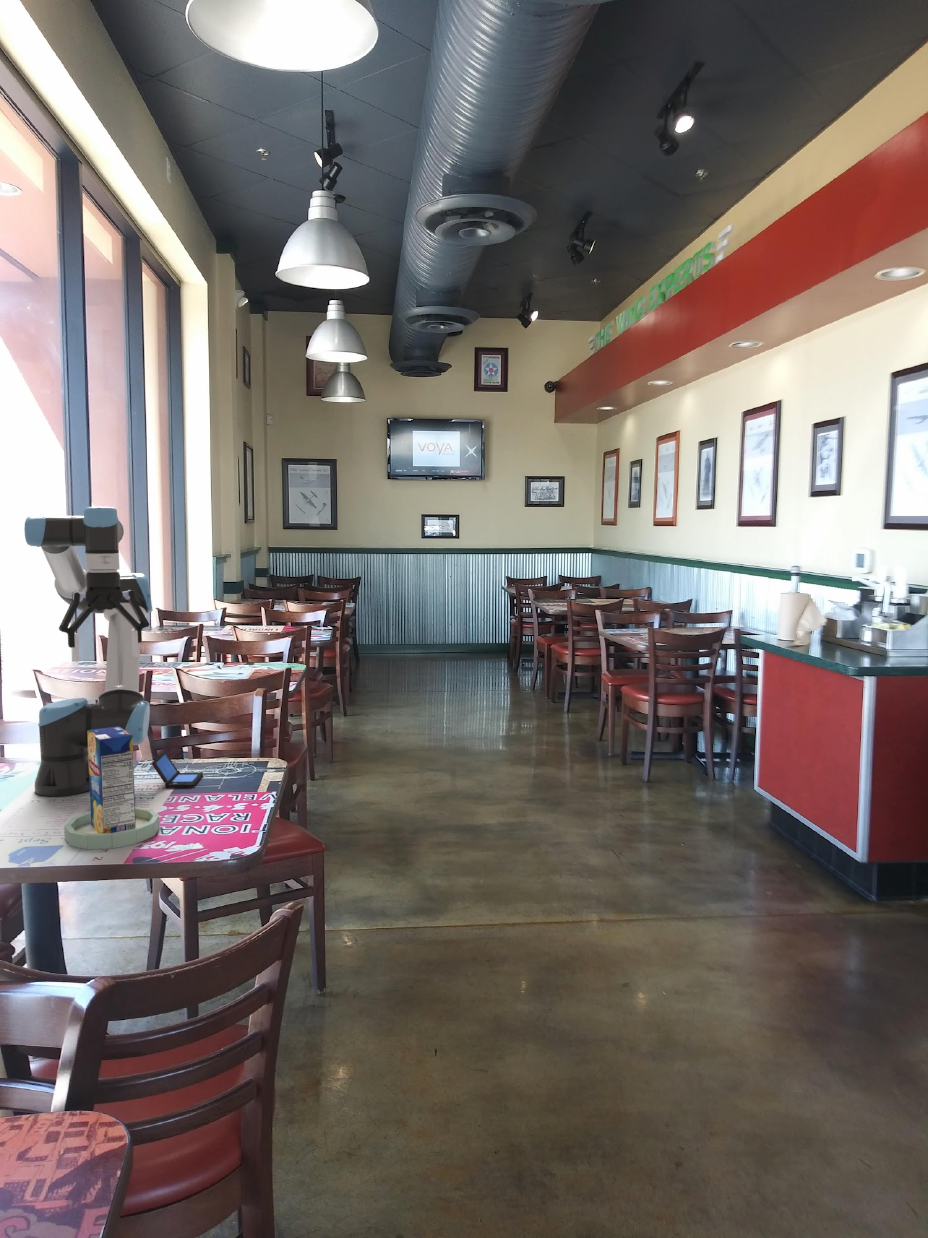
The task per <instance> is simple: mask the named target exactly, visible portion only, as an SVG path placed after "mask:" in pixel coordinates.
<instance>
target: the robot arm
mask: <svg viewBox="0 0 928 1238" xmlns="http://www.w3.org/2000/svg"><path fill="white" fill-rule="evenodd" d="M124 532H125V530H124V525H123V524H122V522H121V521H120V520H119V517H118V510H117V508H116V507H113V506H87V507H85V508H84V510H83V515H45V514H42V515H41V514H40V515H29V516H28V517H27V518H26V519H25V521H24V538H25V542H26V544H27V545H28V546H31V547H36V548H37V547H38V548H39V547H40V548H41V550H42V552H43V554H44V556H45V559H46V560H47V563H48V565H49V568H50V569H51V572H52V574H53V576H54V588H55V590H56V592H57V595H59V597H60V598H61V599H62V600H63V601H64V602H65V603H66V604H68V605H69V606H68V608H67V610H66V613H65V614H64V617H63V619H62V621H61V623H60V625H59V626H58V630H59V631H60V632H62V633H66V635H67V645H68V646H67V647H68V648H69V649H70V648H72V654H73V659H72V660H73V661H74V662H76V663H77V662H80V645H79V644H80V643H79V634H78V633H77V631H78V630H79V628H80V627H81V625H82V624H83V623H84V622H85V621H86V620H87V618H88V617H89V616H90V615H91V614H103V617H104V619H105V620H107V621H108V632H107V633H108V634H107V647H106V648H107V650H106V665H105V683H104V685H105V686H104V691H103V692H102V693H101V694H99V696H98V699H97V703H89V701H88V699H87V698H85V697H74V698H68V699H62V700H58V701H55V702H51V703H48V704H45V705H44V706H43V707H41V708H40V710H39V712H38V724H37V725H38V728H39V729H38V731H39V746H40V747H39V749H40V750H39V751H40V764H39V767H38V771H37V774H36V778H35V781H34V792H36V793H37V795H39V794H40V795H39V796H43V795H45V796H44V797H62V796H64V797H65V796H72V795H78V794H83V793H87V792H90V781H89V758H88V734H87V730H94V729H102V728H110V727H118V726H119V727H121V728H122V729H124V730H125V731H127V732H128V733H130V734H131V735H132V741H133V746H137V745H141V744H143V743H144V742H145V740H146V738H147V736H148V731H149V725H150V714H151V706H150V702H149V701H146V700H145V697H144V695H143V693H141V692H140V690H139V688H140V687H139V685H140V666H141V665H140V662H141V659H140V657H141V644H142V641H143V636H142V635H143V633H142V630H143V629H145V628H148V627H149V626H150V623H149V621H148V619H147V616H148V614H150V613H152V612H153V603H152V596H151V595H152V594H151V590H150V589H151V588H150V582H149V578H148V576H147V575H146V574H145V573H140V572H139V573H138V572H130V573H129V572H128V573H125V572H124V573H123V572H122V573H121V572H118V570H120V552H119V551H120V550H119V543H120V542H121V541H122V539H123V537H124ZM76 547H84V549H85V550H84V553H85V556H84V557H85V568H84V567H83V564H82V561H81V559H80V556H79V554H78V551H77V549H76ZM77 610H79V611H81V613H80V614H79V615H78V616H77V617H76V619H74V621H73V622H72V623H71V621H72V619H73V617H74V615H75V613H76V611H77ZM69 625H70V626H69ZM36 793H35V794H36Z"/></svg>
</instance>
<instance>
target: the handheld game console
mask: <svg viewBox="0 0 928 1238" xmlns="http://www.w3.org/2000/svg"><path fill="white" fill-rule="evenodd" d="M151 765H152V767H153V768H154V769H155V771H156V773H157V774H158V776H159V777H160V779H161V780H162V781H163V784H164V789H192V788H194V787H195V786H196V785H197V783H198V782H199V781H200V780H201V779H202V777H203V776H204V772H201V771H199V772H198V771H197V772H181V771H180V770H178V768H177V767H176V766H175V764H174V762H173V761H172V760H171V757H169V755H168V753H167V752H166V751H163V752H162V753H160V754H159V755H158V756H157V757H156V758H154V760H152V762H151Z"/></svg>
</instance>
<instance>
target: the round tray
mask: <svg viewBox="0 0 928 1238" xmlns="http://www.w3.org/2000/svg"><path fill="white" fill-rule="evenodd" d="M135 821H136V828H134V829H130V830H125V831H120V832H115V833H98V832H97V831H96V830H95V829H94V828H93V827H92V825H91V811H88V812H85V813H83V814H80V815H78V816H75V817H72V818H71V819H70V820H69V821H68V822H67V823H66V824H64V840H65V841H66V842H68V843H67V844H68V845H69V846H70V847H73V848H78V849H84V850H107V849H108V850H109V849H117V848H121V847H122V848H123V847H126V846H132V845H137V844H139V843H141V842H143V841H145V840H146V841H147V840H148V839H150V838H153V837H155V835H156V834H157V833H158V831H159V830H160V827H161V826H160V825H161V824H160V815H159V814H158V813H157V812H156V811H155V810H154V809H152V808H145V807H141V806H140V807H139V806H135Z"/></svg>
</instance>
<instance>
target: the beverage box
mask: <svg viewBox="0 0 928 1238" xmlns="http://www.w3.org/2000/svg"><path fill="white" fill-rule="evenodd" d="M87 734H88V758H89V781H90V790H89V798H90V799H89V800H90V801H89V803H90V812H91V825H92V827H93V828H94V829H95V830H96V831H97V832H98V833H115V832H120V831H125V830H130V829H134V828H136V821H135V807H136V802H135V801H136V800H135V798H136V797H135V795H136V794H135V775H134V774H135V773H134V771H135V769H134V747H133V746H134V745H133V741H132V735H131V734H130V733H128V732H127V731H125V730H124V729H122V728H121V727H119V726H118V727H110V728H102V729H94V730H87Z"/></svg>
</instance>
